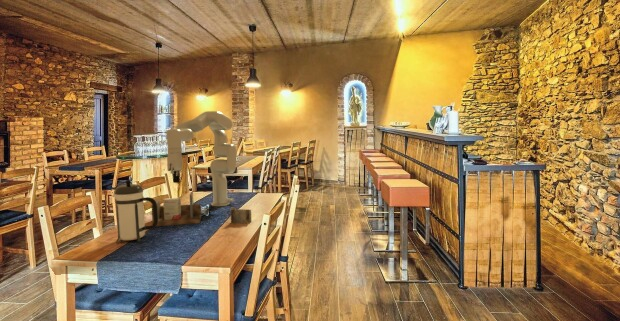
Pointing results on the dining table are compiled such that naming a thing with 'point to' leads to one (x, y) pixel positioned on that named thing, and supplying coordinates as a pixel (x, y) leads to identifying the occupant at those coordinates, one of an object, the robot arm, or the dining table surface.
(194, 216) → the bookend
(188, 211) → the walnut shelf
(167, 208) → the ink box
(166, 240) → the dining table surface
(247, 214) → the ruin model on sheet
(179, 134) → the robot arm
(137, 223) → the coffee press
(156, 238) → the dining table surface
